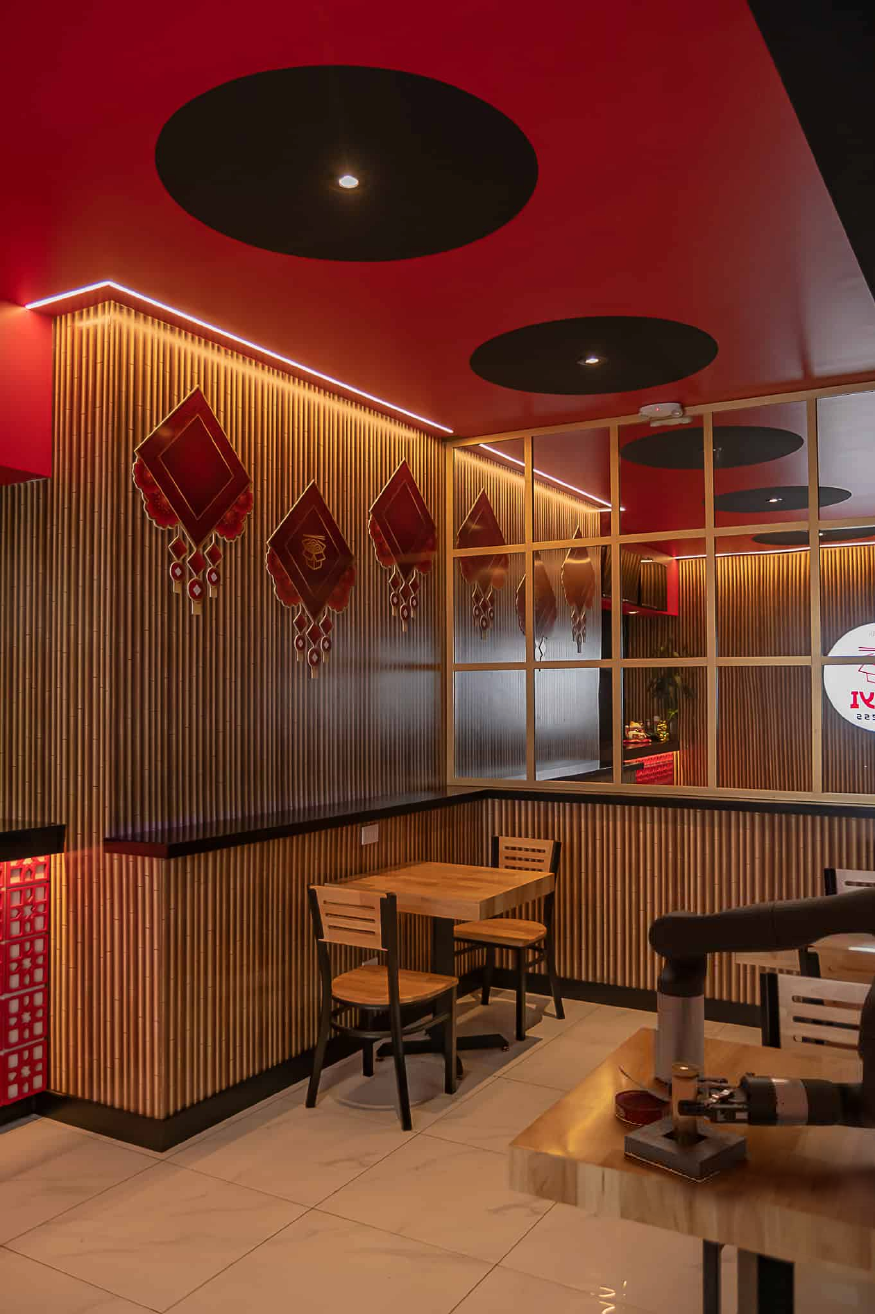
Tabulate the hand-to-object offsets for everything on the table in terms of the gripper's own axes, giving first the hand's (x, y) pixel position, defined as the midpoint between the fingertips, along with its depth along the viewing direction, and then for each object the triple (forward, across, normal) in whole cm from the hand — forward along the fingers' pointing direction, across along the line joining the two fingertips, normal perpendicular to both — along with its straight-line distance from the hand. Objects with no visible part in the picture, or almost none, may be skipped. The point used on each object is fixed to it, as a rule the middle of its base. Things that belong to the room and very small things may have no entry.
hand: (673, 1098), depth 158 cm
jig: (-2, 0, +9) cm, 9 cm away
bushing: (-2, 0, +9) cm, 9 cm away
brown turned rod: (-22, -27, +9) cm, 36 cm away
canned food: (+2, -17, +9) cm, 20 cm away
